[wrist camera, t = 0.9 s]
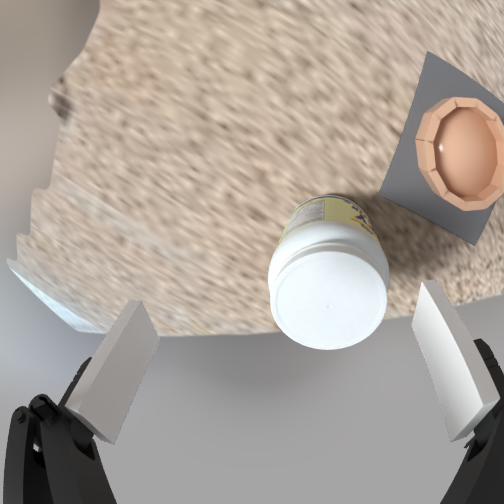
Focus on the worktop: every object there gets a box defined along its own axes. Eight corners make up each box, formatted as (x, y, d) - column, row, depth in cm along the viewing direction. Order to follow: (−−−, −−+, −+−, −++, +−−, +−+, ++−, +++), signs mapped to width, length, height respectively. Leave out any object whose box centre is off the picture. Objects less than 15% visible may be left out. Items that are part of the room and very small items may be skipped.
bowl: (433, 80, 25) (443, 76, 22) (509, 134, 24) (522, 136, 21) (401, 175, 32) (408, 179, 29) (477, 219, 31) (488, 227, 27)
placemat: (427, 52, 24) (427, 51, 23) (520, 119, 22) (521, 119, 22) (378, 194, 34) (378, 195, 34) (473, 245, 32) (474, 246, 32)
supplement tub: (384, 253, 37) (413, 329, 22) (311, 287, 42) (299, 370, 27) (346, 176, 34) (365, 212, 19) (268, 218, 39) (232, 278, 24)
